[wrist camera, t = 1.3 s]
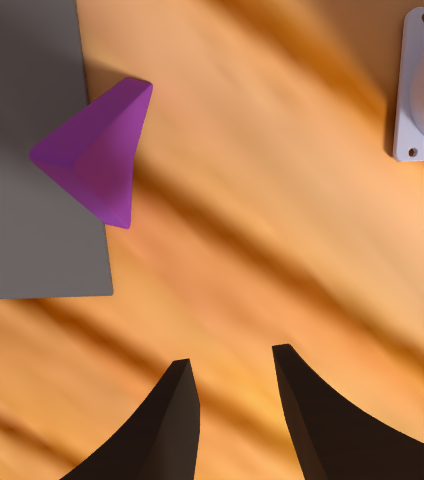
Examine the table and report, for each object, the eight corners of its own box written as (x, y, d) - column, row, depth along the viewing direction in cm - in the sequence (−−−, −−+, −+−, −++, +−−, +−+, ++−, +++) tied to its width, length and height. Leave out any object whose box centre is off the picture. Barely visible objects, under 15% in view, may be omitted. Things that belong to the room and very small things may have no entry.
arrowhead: (133, 154, 25) (119, 9, 16) (155, 159, 25) (151, 16, 16) (84, 273, 20) (24, 153, 11) (111, 279, 20) (72, 165, 11)
